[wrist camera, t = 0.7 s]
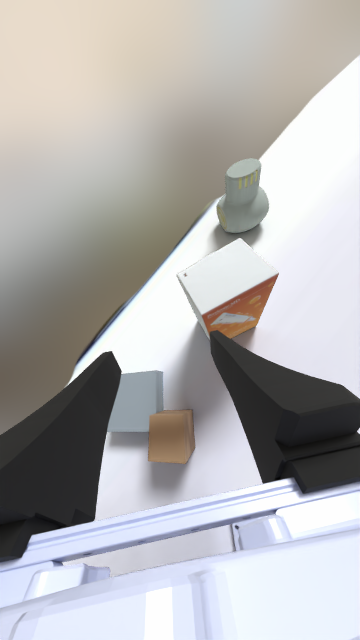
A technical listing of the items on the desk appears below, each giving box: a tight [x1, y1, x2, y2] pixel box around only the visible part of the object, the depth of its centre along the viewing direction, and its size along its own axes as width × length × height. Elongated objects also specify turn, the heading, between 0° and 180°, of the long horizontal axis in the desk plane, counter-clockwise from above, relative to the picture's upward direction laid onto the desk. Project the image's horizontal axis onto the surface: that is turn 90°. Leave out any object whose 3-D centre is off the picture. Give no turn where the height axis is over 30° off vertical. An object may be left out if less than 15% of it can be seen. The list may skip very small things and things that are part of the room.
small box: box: [177, 238, 279, 340], centre depth 20 cm, size 8×6×13 cm
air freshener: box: [217, 159, 269, 233], centre depth 30 cm, size 11×8×10 cm
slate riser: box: [107, 370, 163, 432], centre depth 24 cm, size 8×8×3 cm
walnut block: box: [148, 410, 195, 464], centre depth 20 cm, size 4×4×5 cm
